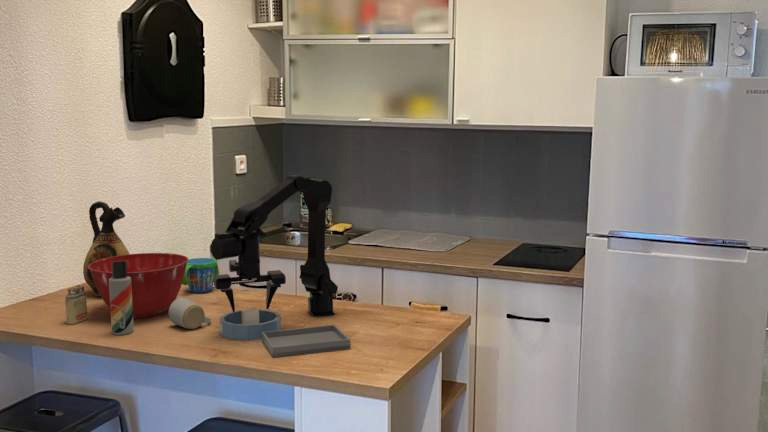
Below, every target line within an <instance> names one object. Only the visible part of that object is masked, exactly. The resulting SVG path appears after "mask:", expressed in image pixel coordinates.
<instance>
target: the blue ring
mask: <svg viewBox="0 0 768 432" xmlns="http://www.w3.org/2000/svg"><path fill="white" fill-rule="evenodd" d="M257 309H258V311H259V324H249V325H247V324H242V309H239V310H238V309H237V310H235V312H233V311H230V312H227V313H224V314H223V315H221V316H220V317H219V331H220V334H221V336H222V337H224V338H227V339H230V340H233V341H234V340H235V341H236V340H238V341H239V340H240V341H254V340H262V334H261V332H267V331H277V330H282V315H281V314H280V312H278V311H274V310H270V309H261V308H257Z"/></svg>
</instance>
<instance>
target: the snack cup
mask: <svg viewBox="0 0 768 432" xmlns="http://www.w3.org/2000/svg"><path fill="white" fill-rule="evenodd" d="M215 275H220V270H219V266H218V262H217V260H216V259H215V258H211V257H196V258H190V259H189V258H188V262H187V265H186V270H185V275H184V279H183V282H182V285H183V286H188V290H189V291H190V292H191V293H193V294H195V293H196V294H202V293H209V292H211V291H213V287H214V280H213V279H214V277H215Z"/></svg>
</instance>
